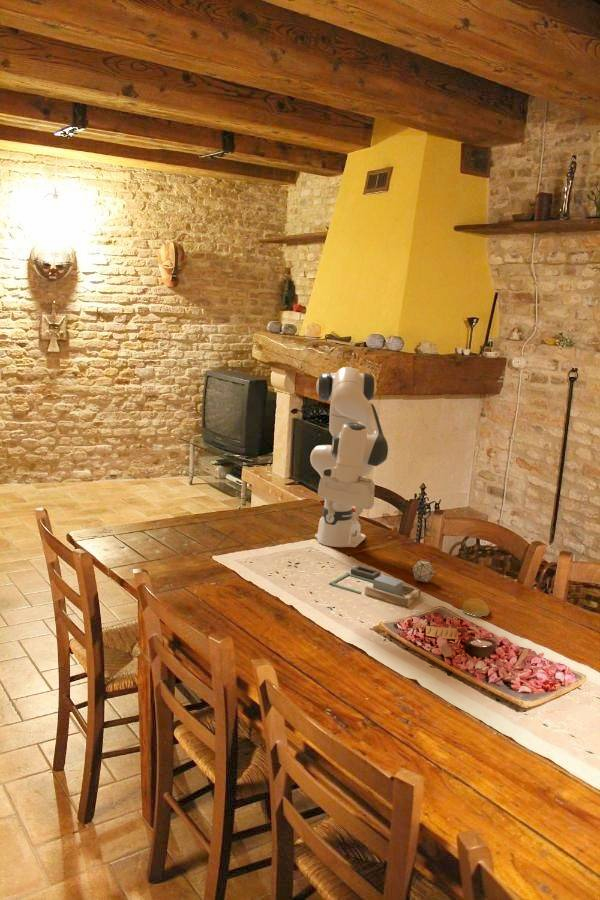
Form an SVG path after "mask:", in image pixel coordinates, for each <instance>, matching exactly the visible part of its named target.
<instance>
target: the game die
mask: <svg viewBox="0 0 600 900" xmlns="http://www.w3.org/2000/svg"><path fill="white" fill-rule="evenodd" d="M417 560H418V561H417V562H416V563H415V564H414V566H413V567H409V569H410V570H411V571H412V574H413V577H414V580H413V582H417V581H418V582H422V583H425V584H427V585H429V581H430V580H431V579H432V577H433V576H434V575H435V576H436V575H437V573H436V572H435V571H434V567H433V565H432V564H433V561H434V560H432V561H424V560H420V558H419V557H417Z"/></svg>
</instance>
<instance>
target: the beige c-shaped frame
mask: <svg viewBox="0 0 600 900" xmlns="http://www.w3.org/2000/svg"><path fill="white" fill-rule="evenodd" d="M421 593H422V589H421V588H418V587H414V586H410V585H407V584H404V583H403V590H402V594H406V595H405V596H402V595H401V596H398V595H395V594H392V593H388V592H385V591H382V590H378V589H375V588H373V587H371V586H369V585H367V586H365V588H364V595H365V596H366V595H367V596H370V597H372V598H376V599H378V600H379V599H380V600H383V601H385V602H389V603H392V604H396V605H399V606H402V607H405V608H406V607H408V606H409V605H410V604H412V603H413V602H415V601H416V600H417V599H419V598H420V597H421V595H422V594H421Z"/></svg>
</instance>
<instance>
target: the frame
mask: <svg viewBox="0 0 600 900" xmlns="http://www.w3.org/2000/svg"><path fill="white" fill-rule="evenodd" d="M348 576H349V577H353V578H355V579H359V580H363V581H367V582H369V583H372V584H373V582H374V581H373V580H370V579H366V578H363V577H360V576H356V575H353V574H351V573H349V572H347V573H345V574H343V575H341V576H339V577H338V578H335V579H334V580H332V581H330V582H329V583H328V585H330V586H333V587H337V588H340V589H343V590H346V591H350V592H353V593H357V594H361V593H362V591H360V590H357V589H353V588H350V587H347V586H344V585H340V584H338V582H339V581H341V580H344V579H345V578H347V577H348Z"/></svg>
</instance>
